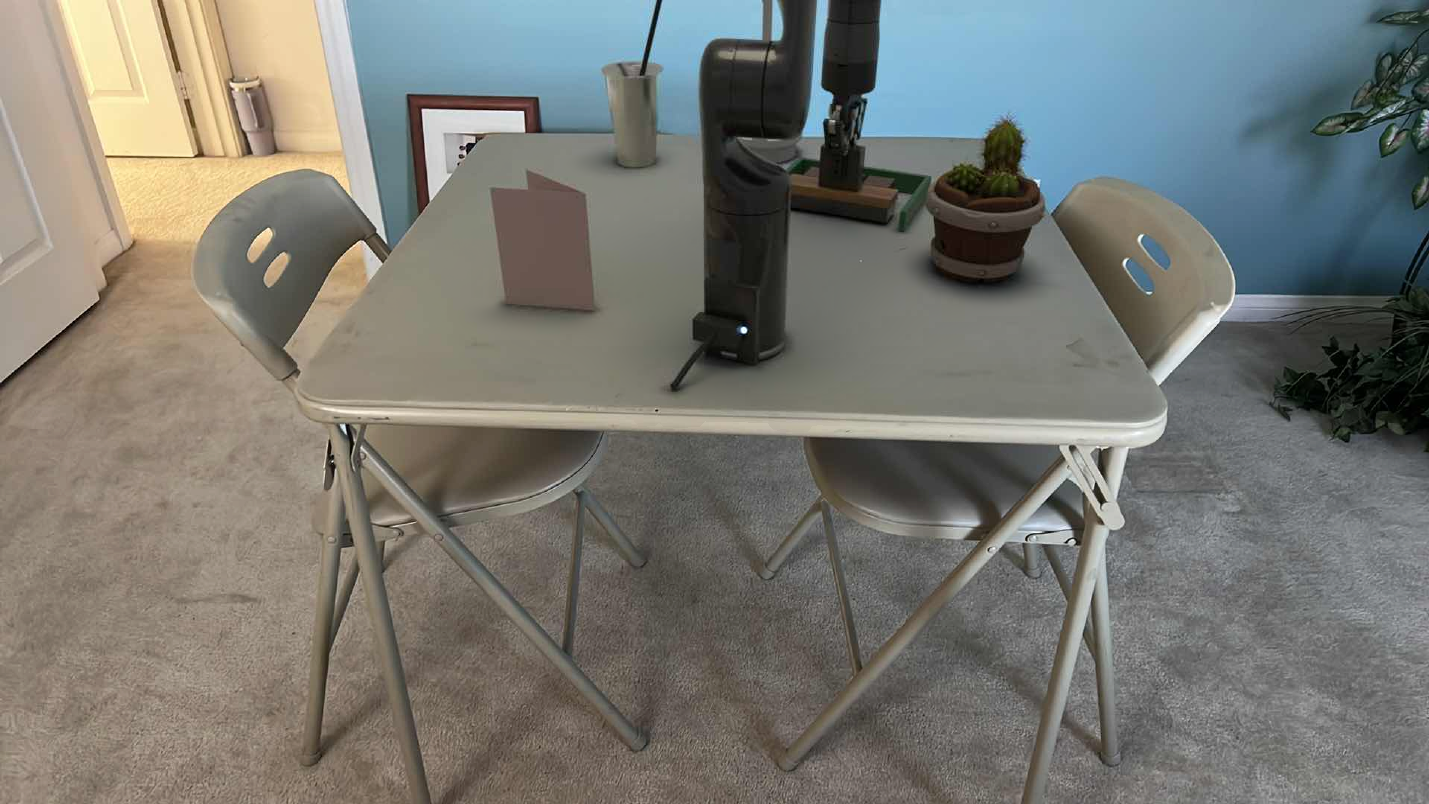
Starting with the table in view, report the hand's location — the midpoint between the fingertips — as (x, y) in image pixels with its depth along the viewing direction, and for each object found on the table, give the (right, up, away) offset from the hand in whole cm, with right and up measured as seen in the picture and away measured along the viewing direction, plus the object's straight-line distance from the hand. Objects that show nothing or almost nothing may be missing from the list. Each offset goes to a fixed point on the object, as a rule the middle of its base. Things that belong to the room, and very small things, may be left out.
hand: (840, 175), depth 138 cm
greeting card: (-39, -21, -21) cm, 49 cm away
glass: (-31, +8, +22) cm, 39 cm away
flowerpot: (+16, -16, -13) cm, 26 cm away
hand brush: (0, -4, +3) cm, 5 cm away
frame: (+2, -2, +6) cm, 7 cm away
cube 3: (-2, -1, +8) cm, 8 cm away
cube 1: (+6, -3, +5) cm, 9 cm away
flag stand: (-10, +10, +25) cm, 29 cm away
